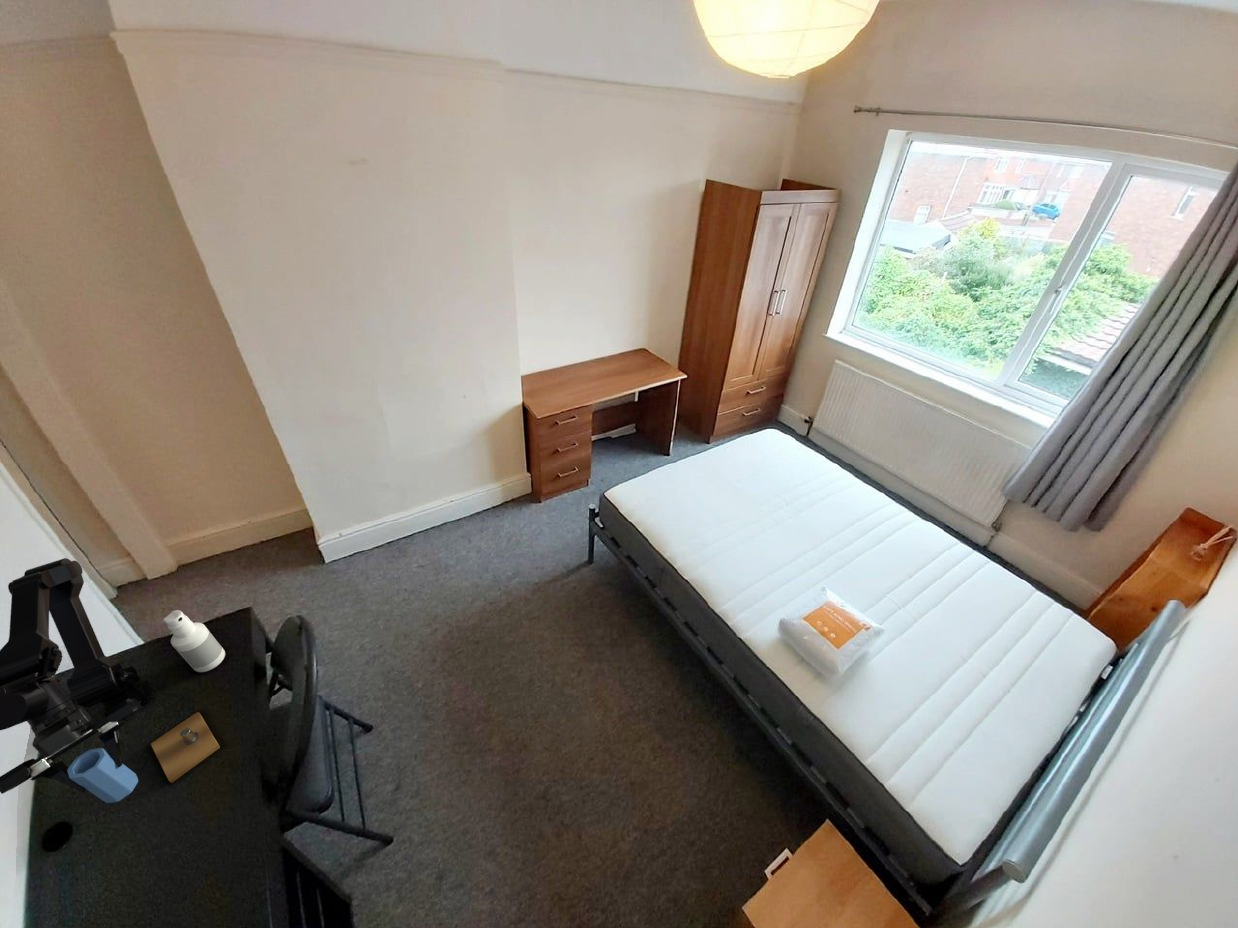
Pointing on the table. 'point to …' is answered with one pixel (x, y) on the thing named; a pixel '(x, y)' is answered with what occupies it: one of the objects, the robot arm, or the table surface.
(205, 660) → the spray bottle
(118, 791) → the sleeve
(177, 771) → the base
